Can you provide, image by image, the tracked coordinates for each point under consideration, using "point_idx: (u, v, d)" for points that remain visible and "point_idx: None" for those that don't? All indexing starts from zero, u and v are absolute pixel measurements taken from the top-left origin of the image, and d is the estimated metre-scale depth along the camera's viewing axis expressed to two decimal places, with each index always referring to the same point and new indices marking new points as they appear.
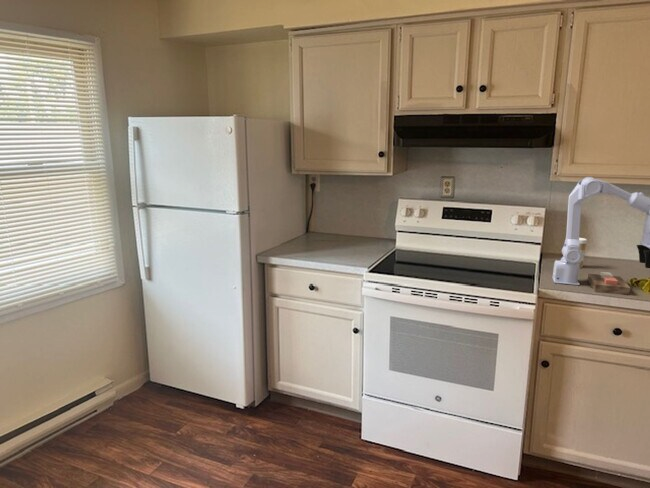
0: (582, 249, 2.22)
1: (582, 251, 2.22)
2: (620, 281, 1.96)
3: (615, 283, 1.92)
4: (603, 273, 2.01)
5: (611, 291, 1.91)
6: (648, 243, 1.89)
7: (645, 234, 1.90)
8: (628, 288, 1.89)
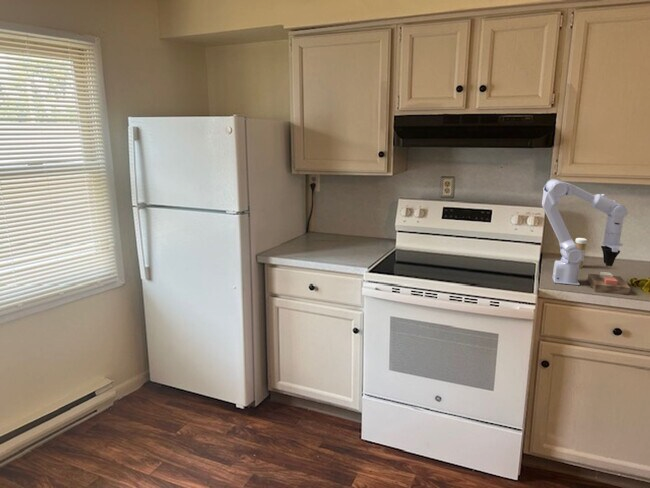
0: (582, 249, 2.22)
1: (582, 251, 2.22)
2: (620, 281, 1.96)
3: (615, 283, 1.92)
4: (603, 273, 2.01)
5: (611, 291, 1.91)
6: (609, 243, 1.95)
7: (606, 234, 1.96)
8: (628, 288, 1.89)
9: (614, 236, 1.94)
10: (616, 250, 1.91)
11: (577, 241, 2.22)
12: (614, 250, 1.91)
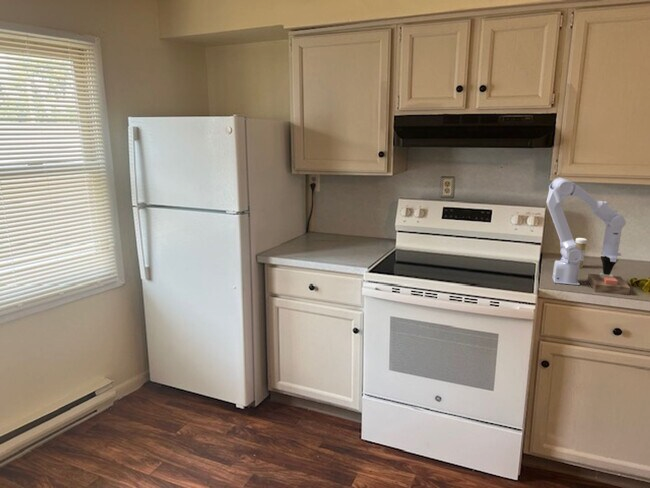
0: (582, 249, 2.22)
1: (582, 251, 2.22)
2: (620, 281, 1.96)
3: (615, 283, 1.92)
4: (603, 273, 2.01)
5: (611, 291, 1.91)
6: (608, 253, 1.96)
7: (605, 244, 1.97)
8: (628, 288, 1.89)
9: (612, 246, 1.95)
10: (614, 260, 1.92)
11: (577, 241, 2.22)
12: (612, 260, 1.92)
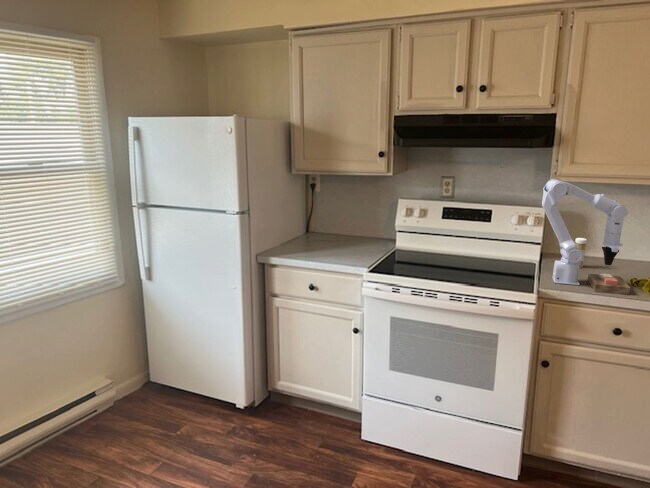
0: (582, 249, 2.22)
1: (582, 251, 2.22)
2: (620, 281, 1.96)
3: (615, 283, 1.92)
4: (603, 275, 2.01)
5: (611, 291, 1.91)
6: (609, 243, 1.95)
7: (606, 234, 1.96)
8: (628, 288, 1.89)
9: (614, 236, 1.94)
10: (615, 250, 1.91)
11: (577, 241, 2.22)
12: (614, 250, 1.91)
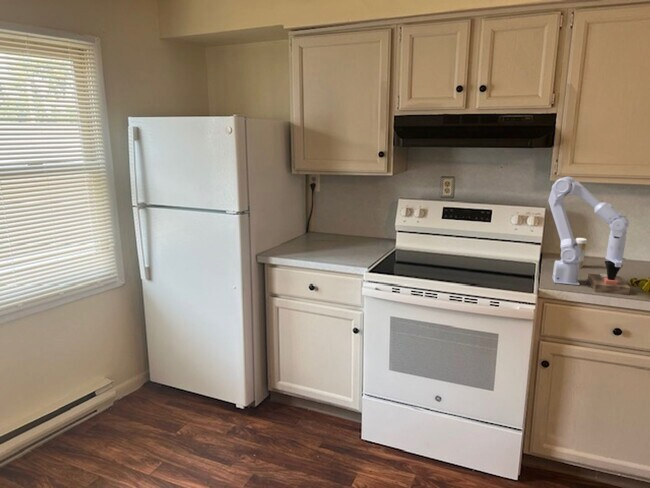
0: (582, 249, 2.22)
1: (582, 251, 2.22)
2: (620, 281, 1.96)
3: (615, 283, 1.92)
4: (603, 275, 2.01)
5: (611, 291, 1.91)
6: (612, 258, 1.89)
7: (609, 249, 1.90)
8: (628, 288, 1.89)
9: (617, 250, 1.88)
10: (619, 265, 1.85)
11: (577, 241, 2.22)
12: (617, 265, 1.85)
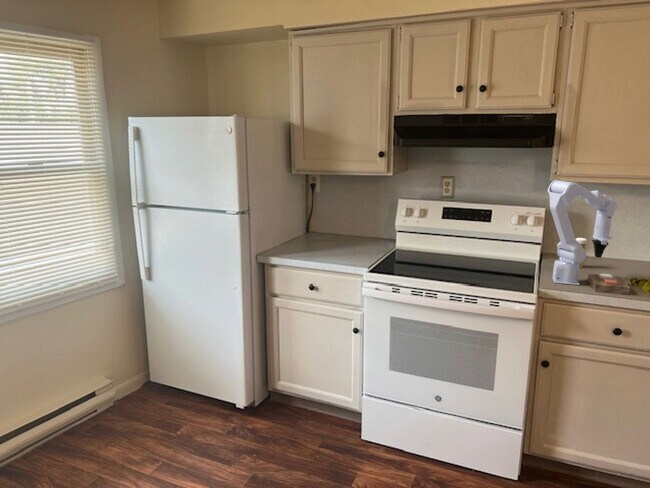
0: None
1: None
2: (620, 281, 1.96)
3: None
4: (603, 275, 2.01)
5: (611, 291, 1.91)
6: (599, 236, 2.03)
7: (596, 228, 2.03)
8: (628, 288, 1.89)
9: (603, 229, 2.01)
10: (605, 243, 1.99)
11: None
12: (603, 243, 1.99)
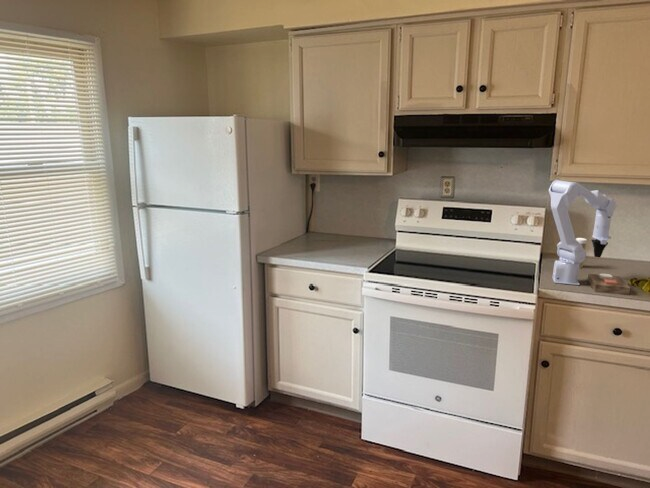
0: None
1: None
2: (620, 281, 1.96)
3: None
4: (603, 275, 2.01)
5: (611, 291, 1.91)
6: (598, 236, 2.03)
7: (596, 227, 2.04)
8: (628, 288, 1.89)
9: (603, 229, 2.02)
10: (604, 243, 1.99)
11: None
12: (603, 242, 1.99)
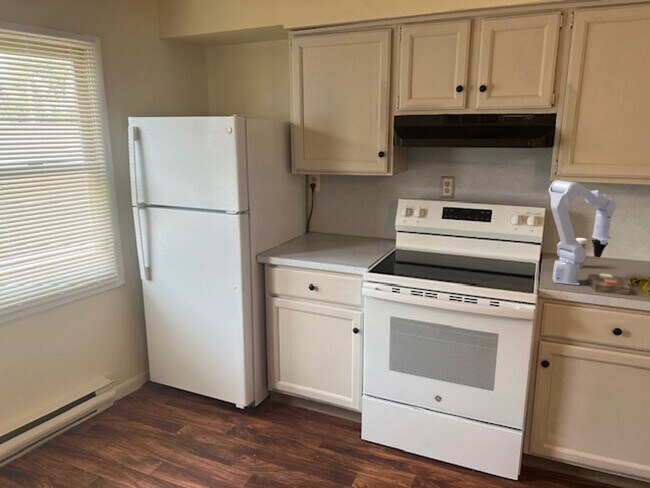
0: None
1: None
2: (620, 281, 1.96)
3: None
4: (603, 275, 2.01)
5: (611, 291, 1.91)
6: (598, 236, 2.03)
7: (596, 227, 2.04)
8: (628, 288, 1.89)
9: (603, 229, 2.02)
10: (604, 243, 1.99)
11: None
12: (603, 242, 1.99)
